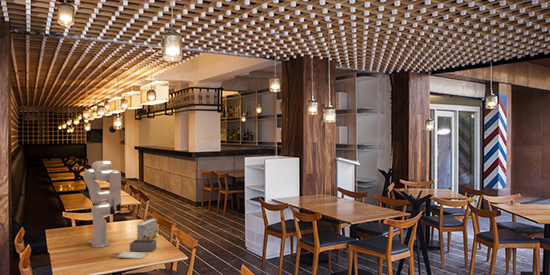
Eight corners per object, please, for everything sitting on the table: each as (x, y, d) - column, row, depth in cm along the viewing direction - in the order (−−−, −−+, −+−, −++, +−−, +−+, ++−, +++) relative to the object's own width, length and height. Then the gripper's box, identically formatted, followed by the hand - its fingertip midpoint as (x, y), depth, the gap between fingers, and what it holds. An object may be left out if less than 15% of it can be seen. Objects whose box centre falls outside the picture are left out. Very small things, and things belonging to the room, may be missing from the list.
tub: (129, 252, 285) (129, 243, 285) (134, 247, 295) (134, 239, 295) (152, 251, 285) (152, 243, 285) (156, 247, 295) (156, 239, 295)
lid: (108, 258, 270) (108, 254, 270) (115, 253, 280) (115, 249, 280) (141, 261, 270) (141, 256, 269) (146, 256, 280) (147, 252, 280)
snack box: (143, 244, 304) (143, 224, 304) (137, 244, 305) (136, 224, 305) (157, 236, 325) (156, 218, 324) (151, 236, 326) (150, 218, 326)
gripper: (115, 186, 287) (115, 210, 288) (104, 190, 270) (104, 215, 271) (125, 186, 287) (125, 210, 288) (115, 190, 270) (115, 215, 271)
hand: (115, 212), depth 279 cm, fingers open, 9 cm apart
